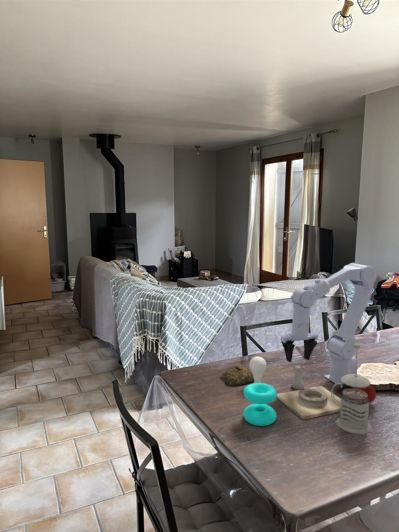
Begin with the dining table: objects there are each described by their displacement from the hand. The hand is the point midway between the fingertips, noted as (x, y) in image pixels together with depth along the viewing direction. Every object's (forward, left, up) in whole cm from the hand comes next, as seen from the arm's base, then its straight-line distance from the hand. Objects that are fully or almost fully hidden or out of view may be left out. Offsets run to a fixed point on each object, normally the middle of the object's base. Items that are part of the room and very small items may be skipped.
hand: (297, 360), depth 144 cm
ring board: (+2, +12, -10) cm, 16 cm away
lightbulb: (+13, -6, -10) cm, 18 cm away
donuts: (+23, +15, -10) cm, 29 cm away
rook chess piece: (0, 0, -10) cm, 10 cm away
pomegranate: (-14, +19, -10) cm, 26 cm away
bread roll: (+17, -15, -11) cm, 25 cm away
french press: (-1, +27, -10) cm, 29 cm away
